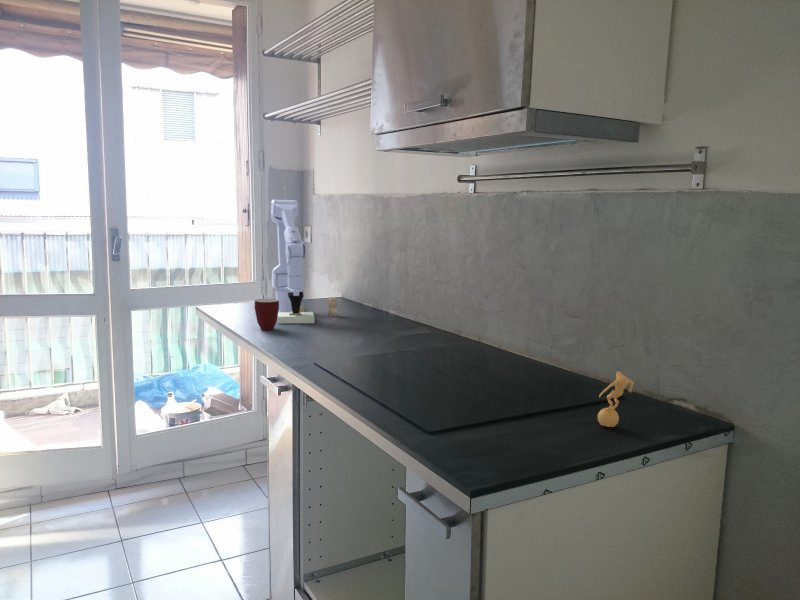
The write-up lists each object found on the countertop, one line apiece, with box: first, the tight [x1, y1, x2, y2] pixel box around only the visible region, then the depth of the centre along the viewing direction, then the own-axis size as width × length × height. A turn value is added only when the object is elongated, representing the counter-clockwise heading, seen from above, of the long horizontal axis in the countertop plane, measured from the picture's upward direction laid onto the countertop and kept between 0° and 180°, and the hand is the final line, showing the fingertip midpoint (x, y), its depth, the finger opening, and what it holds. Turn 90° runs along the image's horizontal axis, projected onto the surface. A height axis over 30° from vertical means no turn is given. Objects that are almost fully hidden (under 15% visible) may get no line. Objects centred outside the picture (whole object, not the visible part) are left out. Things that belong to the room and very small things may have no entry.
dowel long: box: [328, 297, 338, 318], centre depth 235 cm, size 3×3×7 cm
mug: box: [254, 298, 279, 331], centre depth 208 cm, size 11×8×10 cm
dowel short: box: [301, 305, 306, 312], centre depth 233 cm, size 3×3×4 cm
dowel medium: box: [292, 303, 302, 315], centre depth 223 cm, size 3×3×6 cm
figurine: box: [597, 370, 635, 428], centre depth 119 cm, size 8×6×12 cm
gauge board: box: [277, 311, 315, 325], centre depth 223 cm, size 9×13×2 cm
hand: (295, 312), depth 223 cm, fingers closed on dowel medium, 3 cm apart
